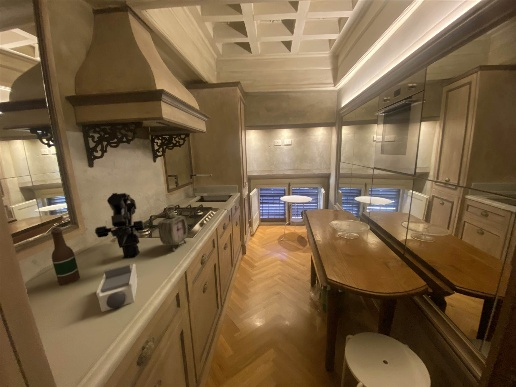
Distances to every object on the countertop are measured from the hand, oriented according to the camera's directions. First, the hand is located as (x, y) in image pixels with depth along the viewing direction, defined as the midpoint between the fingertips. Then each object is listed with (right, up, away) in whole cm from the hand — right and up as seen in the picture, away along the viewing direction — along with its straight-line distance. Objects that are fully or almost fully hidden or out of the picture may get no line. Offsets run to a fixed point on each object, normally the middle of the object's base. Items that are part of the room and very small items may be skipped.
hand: (121, 245), depth 96 cm
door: (+8, -10, -15) cm, 20 cm away
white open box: (+8, -16, -13) cm, 22 cm away
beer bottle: (-23, -16, -1) cm, 28 cm away
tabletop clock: (+14, -7, +27) cm, 31 cm away
